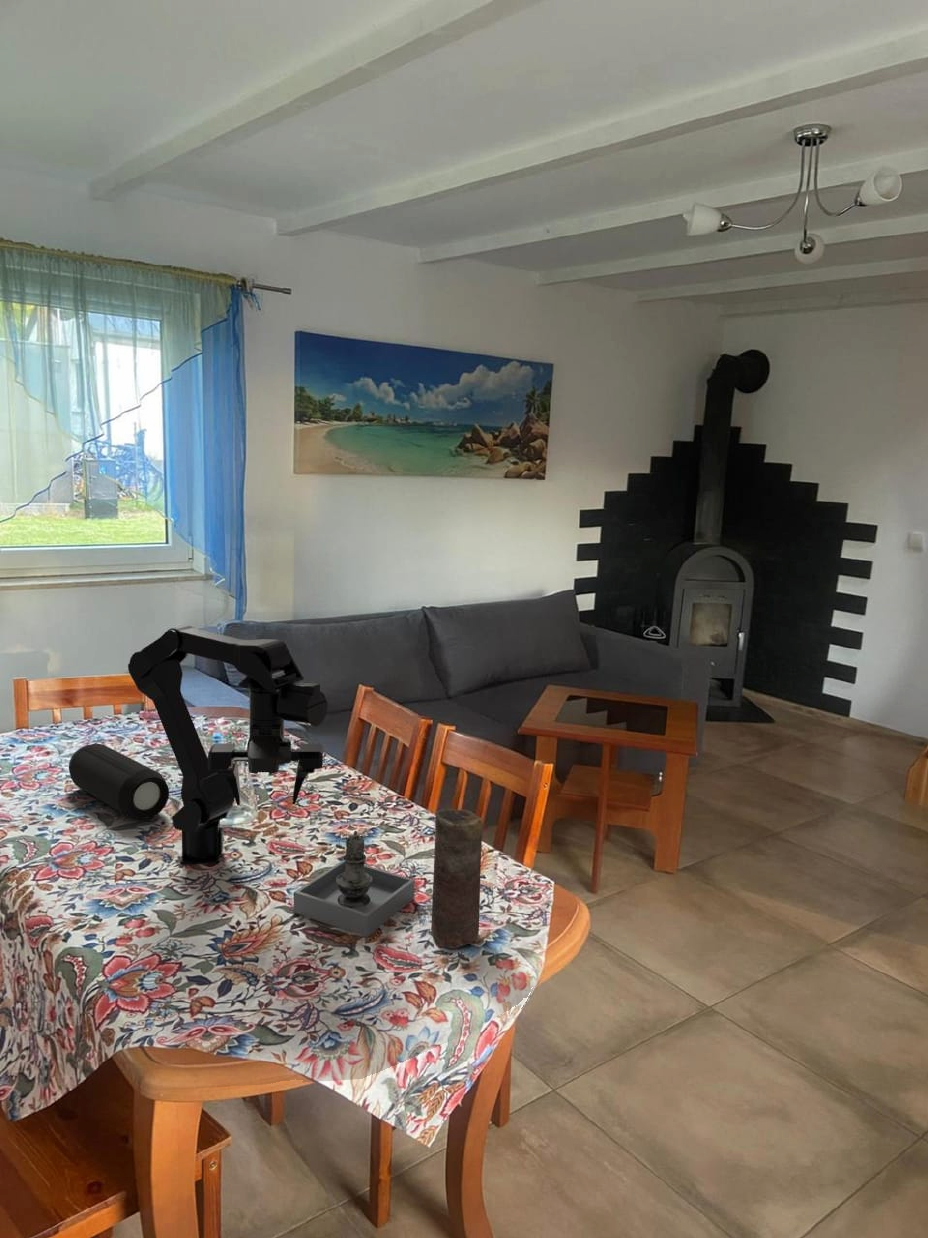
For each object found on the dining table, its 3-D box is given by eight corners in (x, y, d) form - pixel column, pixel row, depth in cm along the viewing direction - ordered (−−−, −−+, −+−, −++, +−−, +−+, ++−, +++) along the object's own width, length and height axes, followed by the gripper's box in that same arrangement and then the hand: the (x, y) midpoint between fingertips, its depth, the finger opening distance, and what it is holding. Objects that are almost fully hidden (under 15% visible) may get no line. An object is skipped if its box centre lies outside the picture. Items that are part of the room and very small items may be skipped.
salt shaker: (374, 907, 144) (376, 837, 142) (337, 910, 143) (338, 839, 140) (369, 890, 150) (371, 822, 147) (334, 892, 148) (335, 824, 146)
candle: (429, 924, 142) (434, 804, 138) (475, 924, 142) (481, 805, 139) (431, 951, 134) (437, 825, 130) (480, 950, 135) (487, 825, 131)
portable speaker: (173, 815, 178) (172, 767, 176) (126, 829, 171) (125, 779, 169) (110, 780, 195) (109, 736, 193) (65, 792, 187) (63, 746, 186)
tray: (293, 912, 143) (293, 892, 143) (344, 877, 156) (345, 858, 155) (366, 937, 137) (367, 916, 136) (414, 899, 149) (414, 879, 149)
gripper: (202, 730, 141) (203, 824, 144) (322, 730, 144) (321, 822, 146) (211, 710, 152) (212, 797, 154) (323, 710, 154) (322, 796, 157)
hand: (266, 804), depth 153 cm, fingers open, 9 cm apart
